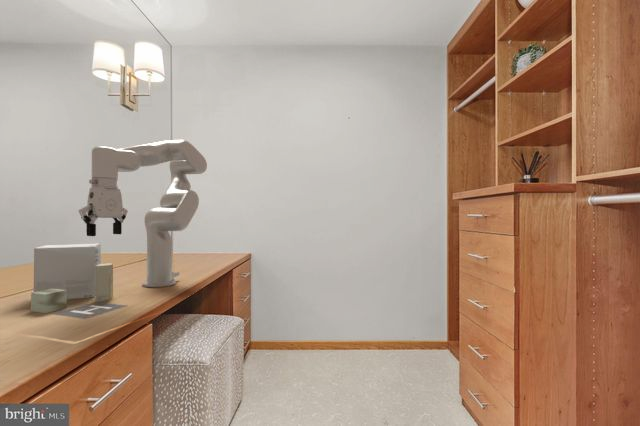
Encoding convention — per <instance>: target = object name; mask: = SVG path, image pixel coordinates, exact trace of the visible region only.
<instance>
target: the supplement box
mask: <svg viewBox="0 0 640 426" xmlns="http://www.w3.org/2000/svg"><path fill="white" fill-rule="evenodd" d="M101 247H102V246H101V243H99V242H98V243H78V244H77V243H75V244H74V243H71V244H45V245H42V246H37V247H34V248H33V292H38V291H43V290H48V289H61V290H67V300H71V299H72V300H73V299H74V300H75V299H83V298H84V299H85V298H86V299H87V298H96V266H97V265H98V264H102V262H101V261H102V256H101V255H102V254H101Z"/></svg>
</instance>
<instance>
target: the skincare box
mask: <svg viewBox="0 0 640 426" xmlns="http://www.w3.org/2000/svg"><path fill="white" fill-rule="evenodd" d="M113 298H114V263H110V262H109V263H101V264H98V265H97V266H96V296H95V302H109V301H111V300H112V299H113Z"/></svg>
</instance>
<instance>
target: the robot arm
mask: <svg viewBox="0 0 640 426" xmlns="http://www.w3.org/2000/svg"><path fill="white" fill-rule="evenodd" d="M167 162H168V163H169V169H170V170H169V171H170V174H171V182H170V184H169V185H168V187H167V189H166V190H165V192H164V193H163V194H162V196H161V197H160V202H159V204H160V207H154V208H151V209H149V210H148V211H147V212H146V213H145V216H144V226H145V231H146V248H147V249H146V280H145V281H143V282H142V287H145V288H162V287H169V286H173V285H175V284H177V280H176V279H175V277H179V276H180V272H179V271H173V239H172V236H171V234H170V232H183V231H184V230H185V229H186V228H187V227H189V224H190V223H191V222H192V219H193V217H194V216H195V214H196V212H197V209H198V207H199V203H200V198H199V195H198V193H197V192H196V191H194V190H193V189H191V183H190V180H189V179H188V177H187V175H201V174H204V173H205V172H206V170H207V169H208V163H207V159H206V158H205V156H204V155H203V154H202V153H201V152H200V151H199V150H198V149H197V148H196V147H195V146H194V145H193V144H192V143H190V142H189V141H187V140H185V139H173V140H169V139H168V140H163V141H158V142H152V143H146V144H140V145H134V146H130V147H129V146H128V147H124V148H123V147H122V148H117V149H116V148H113V147H110V146H95V147H93V148H92V150H91V179H88V182H89V184H91V187H90V188H89V191H88V197H87V204H86V206H84V207H82V208H80V209H79V210H78V213H79V215H80V219H81V220H82V221H83V222H84V224H86V236H87V237H96V235H97V234H96V233H97V228H96V227H97V224H96V221H97V220H98V219H99V218H100V219H103V218H104V219H105V218H106V219H107V218H109V219H112V220H113V223H112V234H113V235H122V232H123V231H122V229H123V228H122V223H124V220H125V219H127V218H126V217H127V214H128V209H127V208H125V207H123V197H122V196H123V195H122V192H121V191H122V190H121V189H120V188H119V173H129V172H131V173H132V172H135V171H138V170H139V169H140V168H141V167H142V168H143V167H152V166H157V165H161V164H164V163H167Z"/></svg>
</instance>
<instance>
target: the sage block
mask: <svg viewBox="0 0 640 426" xmlns="http://www.w3.org/2000/svg"><path fill="white" fill-rule="evenodd" d="M67 301H68V299H67V290H61V289H48V290H43V291H38V292H34V291H32V292H31V293H30V312H32V313H33V312H34V313H42V314H47V313H51V312H56V311H59V310H63V309H66V308H67V304H68V303H67Z"/></svg>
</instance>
